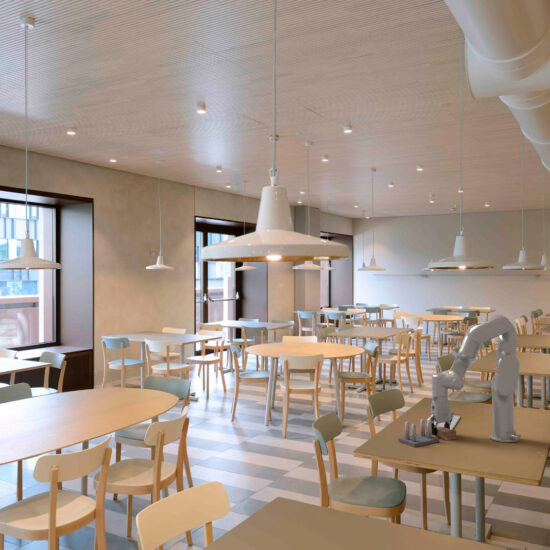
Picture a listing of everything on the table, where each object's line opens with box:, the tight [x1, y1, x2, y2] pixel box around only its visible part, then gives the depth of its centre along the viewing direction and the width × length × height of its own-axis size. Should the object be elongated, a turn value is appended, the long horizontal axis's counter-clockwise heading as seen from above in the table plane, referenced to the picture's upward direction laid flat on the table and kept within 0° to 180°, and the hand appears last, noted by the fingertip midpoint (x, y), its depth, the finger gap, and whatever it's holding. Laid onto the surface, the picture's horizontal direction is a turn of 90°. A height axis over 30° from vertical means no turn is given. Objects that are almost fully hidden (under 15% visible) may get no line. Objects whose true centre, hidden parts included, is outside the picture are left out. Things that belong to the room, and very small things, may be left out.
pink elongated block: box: [425, 425, 457, 441], centre depth 272 cm, size 14×6×4 cm, turn 29°
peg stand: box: [397, 418, 440, 448], centre depth 263 cm, size 11×16×10 cm
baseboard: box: [437, 413, 461, 430], centre depth 296 cm, size 30×3×10 cm
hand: (440, 433), depth 272 cm, fingers open, 8 cm apart
